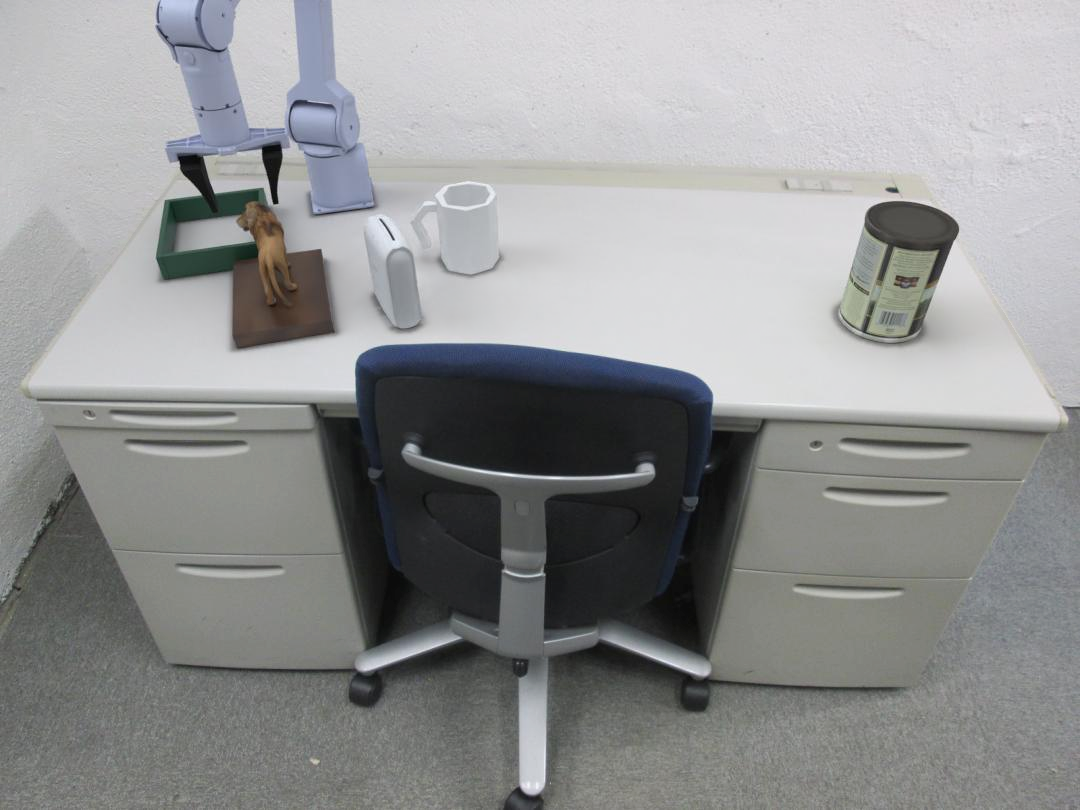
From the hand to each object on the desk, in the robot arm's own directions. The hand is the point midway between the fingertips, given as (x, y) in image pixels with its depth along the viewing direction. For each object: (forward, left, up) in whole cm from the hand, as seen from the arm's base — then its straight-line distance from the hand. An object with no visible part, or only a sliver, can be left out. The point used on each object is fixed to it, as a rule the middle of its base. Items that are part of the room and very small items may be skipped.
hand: (245, 205), depth 104 cm
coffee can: (-76, +34, -11) cm, 84 cm away
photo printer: (-17, +14, -11) cm, 24 cm away
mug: (-27, +4, -11) cm, 29 cm away
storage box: (+6, -11, -10) cm, 16 cm away
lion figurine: (-2, +6, -9) cm, 10 cm away
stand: (-2, +8, -10) cm, 13 cm away
